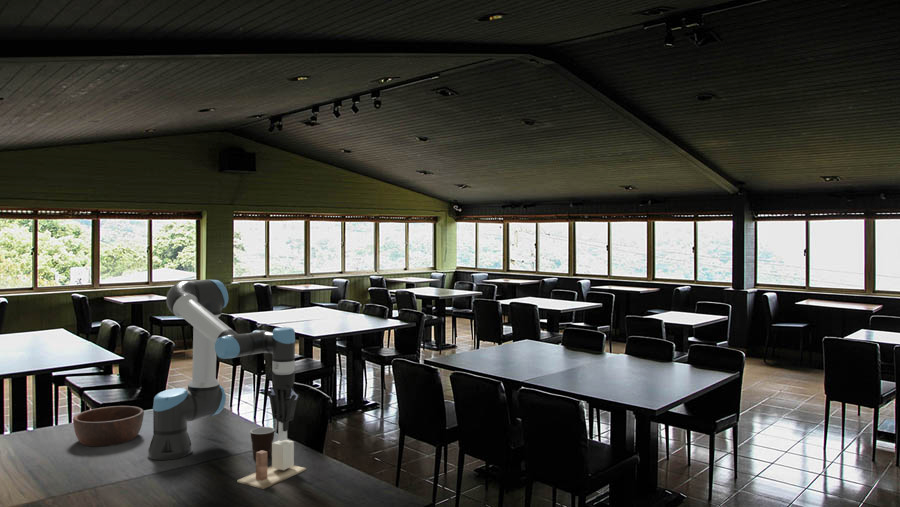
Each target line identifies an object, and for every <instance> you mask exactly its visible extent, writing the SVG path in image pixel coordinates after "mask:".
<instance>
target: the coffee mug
mask: <svg viewBox="0 0 900 507" xmlns="http://www.w3.org/2000/svg"><path fill="white" fill-rule="evenodd" d="M275 431H276V429H275V427H274V428H273V427H270V426H261V427H256V428H252V429H251V430H250V440H251V450H252V458H253V460H255V461H256V452H259V451H261V450H263V451H267V460H269V459H272V443H273V442H274V439H275Z"/></svg>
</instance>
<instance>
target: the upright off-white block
mask: <svg viewBox="0 0 900 507" xmlns="http://www.w3.org/2000/svg"><path fill="white" fill-rule="evenodd" d="M294 458H295V441H294V440H289V439H286V440H283V441H278V440H277V441H273V443H272V456H271V466H272V468H276V469H280V470H285V469H287V468H290V467H292V466H294V465H295V459H294Z"/></svg>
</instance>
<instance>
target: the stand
mask: <svg viewBox="0 0 900 507" xmlns="http://www.w3.org/2000/svg"><path fill="white" fill-rule="evenodd" d="M306 470H307V467H302V466H298V465H296V464H294V466H292V467H290V468H287V469H285V470H280V469H276V468H272V465H270V466H268V459H267V451H263V450H261V451H259V452H256V460H255V472H254V473H251V474H248V475H246V476H244V477H242V478H239V479H237V481H236V482H237V483H240V484H243V485H245V486H246V485H247V486H251V487H255V488H257V489H261V490H265V489H267V488H269V487H272V486H274V485H276V484H278V483H280V482H283V481H285V480H287V479H289V478H291V477H293V476H295V475H298V474H300V473H303V472H304V471H306Z"/></svg>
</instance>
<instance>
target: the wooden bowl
mask: <svg viewBox="0 0 900 507" xmlns="http://www.w3.org/2000/svg"><path fill="white" fill-rule="evenodd" d="M144 416H145V411H144V409H143V408H141V407H139V406H132V405H131V406H130V405H115V406H114V405H113V406H105V407H104V406H103V407H99V408H98V407H97V408H93V409H88V410H86V411H85V410H84V411H82V412H80V413H77V414H75V415H74V416H73V417H72V418H73V419H72V422H73V429H74V433H75V436H76V438H77V440H78V442H79V443H81V444H82V445H84V446H89V447H109V446H115V445H119V444H123V443H126V442H127V443H128V442H129V441H133V440H134V439H135V438H136V437H137V436H138V435H139V433H140V432H141V429H142V426H143V421H144Z"/></svg>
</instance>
